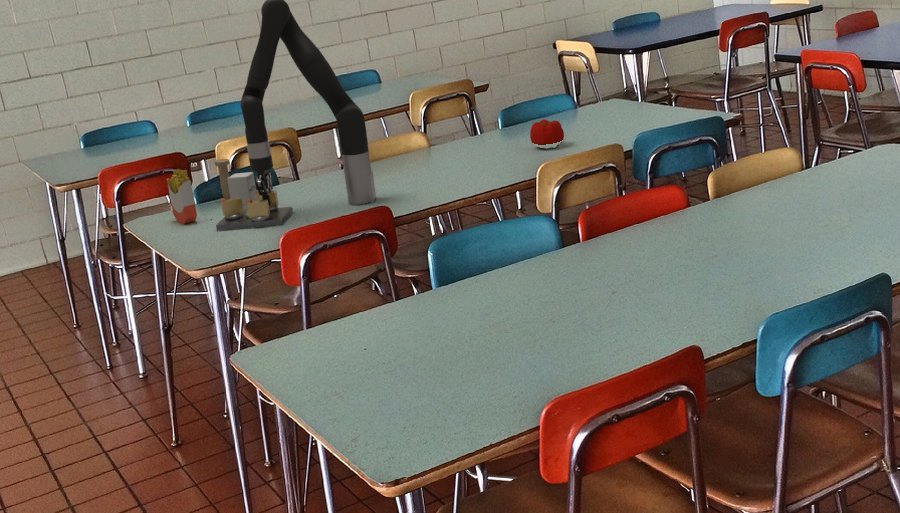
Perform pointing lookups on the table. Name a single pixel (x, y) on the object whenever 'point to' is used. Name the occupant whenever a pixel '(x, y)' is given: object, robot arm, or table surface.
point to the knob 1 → (232, 208)
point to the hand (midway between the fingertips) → (268, 204)
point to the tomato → (546, 132)
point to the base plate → (245, 222)
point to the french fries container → (182, 197)
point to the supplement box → (242, 187)
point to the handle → (223, 176)
